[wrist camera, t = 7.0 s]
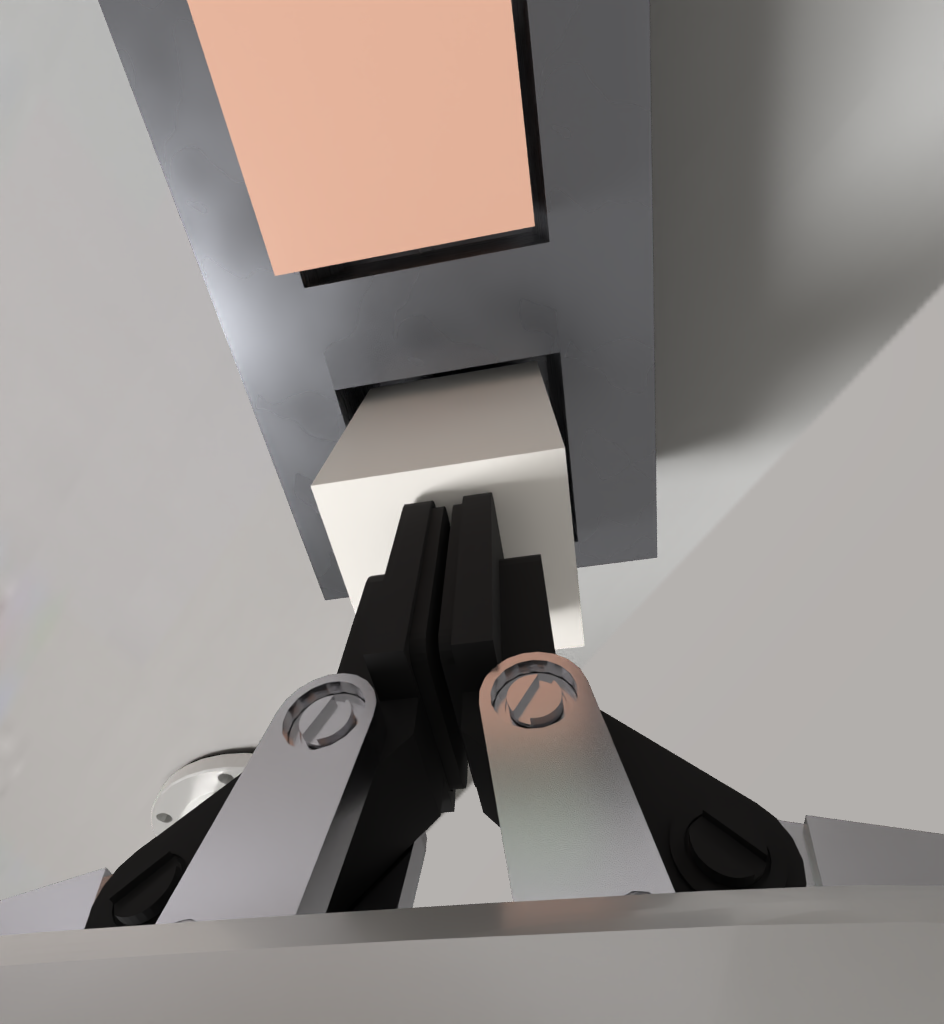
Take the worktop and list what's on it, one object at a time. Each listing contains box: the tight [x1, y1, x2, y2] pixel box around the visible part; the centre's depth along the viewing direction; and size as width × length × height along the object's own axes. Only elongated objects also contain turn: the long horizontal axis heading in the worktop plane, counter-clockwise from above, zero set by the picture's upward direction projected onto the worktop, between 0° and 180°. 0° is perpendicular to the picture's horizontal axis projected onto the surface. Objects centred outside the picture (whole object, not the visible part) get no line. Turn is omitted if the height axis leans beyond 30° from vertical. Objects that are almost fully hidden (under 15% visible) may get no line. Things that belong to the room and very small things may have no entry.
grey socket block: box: [98, 0, 657, 600], centre depth 14 cm, size 23×10×6 cm, turn 10°
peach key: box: [187, 0, 535, 276], centre depth 11 cm, size 5×5×6 cm
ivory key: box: [311, 361, 584, 650], centre depth 14 cm, size 5×5×6 cm
